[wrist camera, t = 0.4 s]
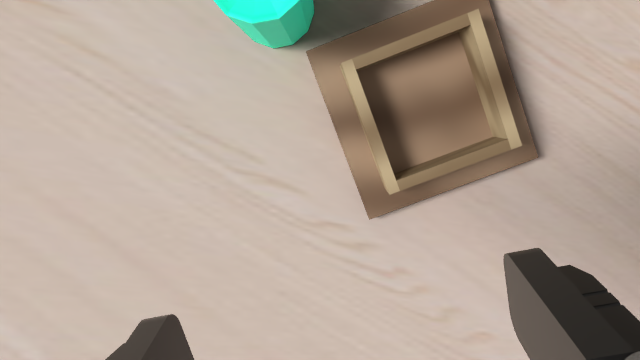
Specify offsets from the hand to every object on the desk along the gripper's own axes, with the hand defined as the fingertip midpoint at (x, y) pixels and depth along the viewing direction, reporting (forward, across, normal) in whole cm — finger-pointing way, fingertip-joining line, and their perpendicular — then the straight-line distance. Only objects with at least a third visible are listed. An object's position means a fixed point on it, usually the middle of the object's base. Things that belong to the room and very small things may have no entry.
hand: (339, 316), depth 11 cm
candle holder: (+27, -6, +1) cm, 28 cm away
